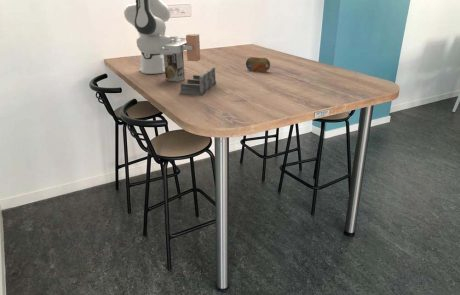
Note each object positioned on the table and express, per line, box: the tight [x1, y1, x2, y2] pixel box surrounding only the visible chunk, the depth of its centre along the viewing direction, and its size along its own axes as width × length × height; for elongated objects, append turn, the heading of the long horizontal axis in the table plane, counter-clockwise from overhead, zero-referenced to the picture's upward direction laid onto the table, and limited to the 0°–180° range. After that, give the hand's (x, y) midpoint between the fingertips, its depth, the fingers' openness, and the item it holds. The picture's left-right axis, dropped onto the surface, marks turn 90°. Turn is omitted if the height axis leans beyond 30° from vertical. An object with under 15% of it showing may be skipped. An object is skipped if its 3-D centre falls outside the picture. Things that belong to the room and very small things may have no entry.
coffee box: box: [164, 51, 186, 82], centre depth 205 cm, size 9×6×16 cm
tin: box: [245, 56, 271, 73], centre depth 223 cm, size 15×3×8 cm, turn 62°
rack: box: [179, 66, 217, 96], centre depth 190 cm, size 21×12×9 cm, turn 164°
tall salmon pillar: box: [185, 33, 201, 62], centre depth 179 cm, size 4×5×12 cm
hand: (194, 46), depth 179 cm, fingers closed on tall salmon pillar, 4 cm apart
